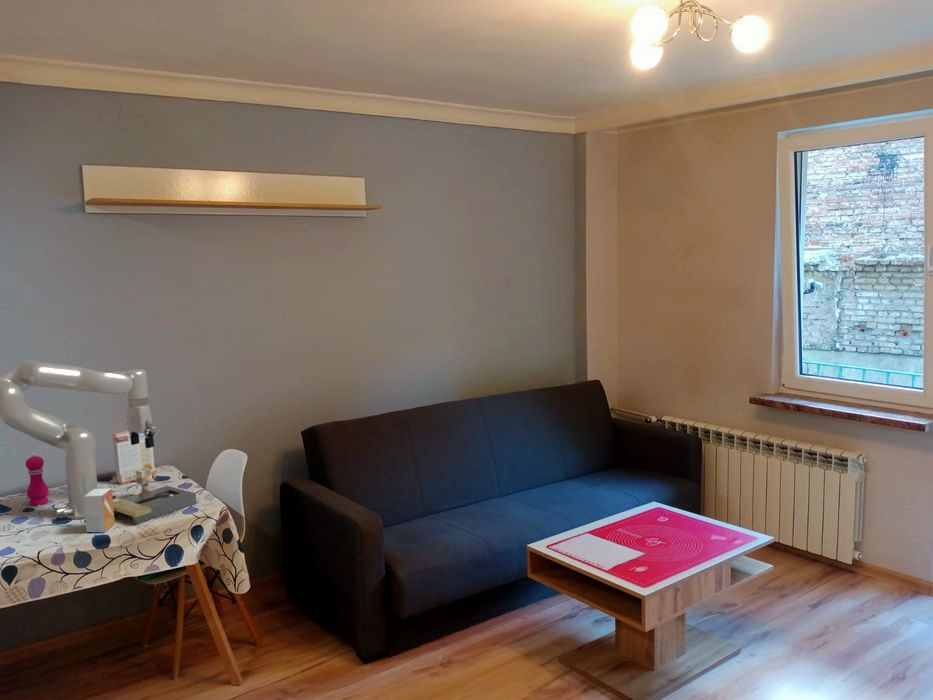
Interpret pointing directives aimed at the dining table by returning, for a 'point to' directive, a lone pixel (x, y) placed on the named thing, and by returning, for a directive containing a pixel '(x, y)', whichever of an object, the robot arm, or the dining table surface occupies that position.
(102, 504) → the small box
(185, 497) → the keyhole plate
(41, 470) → the pepper mill
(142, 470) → the maple peg
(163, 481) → the dining table surface
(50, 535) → the dining table surface
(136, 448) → the cracker box
